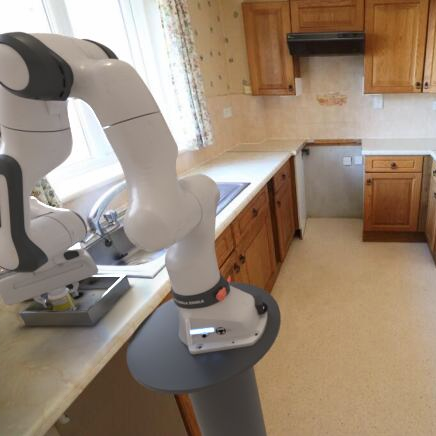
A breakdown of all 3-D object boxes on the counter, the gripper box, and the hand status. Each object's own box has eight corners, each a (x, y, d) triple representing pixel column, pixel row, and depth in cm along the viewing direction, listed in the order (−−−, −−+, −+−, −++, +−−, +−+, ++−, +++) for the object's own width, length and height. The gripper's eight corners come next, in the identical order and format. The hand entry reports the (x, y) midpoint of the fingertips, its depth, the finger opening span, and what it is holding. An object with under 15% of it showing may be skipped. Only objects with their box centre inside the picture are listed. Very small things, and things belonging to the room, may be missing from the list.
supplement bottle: (65, 305, 93) (54, 281, 89) (81, 305, 92) (70, 281, 89) (52, 316, 88) (39, 292, 85) (68, 316, 88) (56, 291, 84)
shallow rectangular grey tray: (130, 286, 100) (126, 274, 98) (93, 325, 84) (87, 312, 83) (72, 287, 100) (67, 275, 98) (25, 326, 85) (18, 312, 83)
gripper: (-15, 280, 74) (12, 325, 80) (89, 247, 87) (106, 289, 93) (-14, 269, 79) (12, 313, 85) (85, 239, 91) (101, 280, 97)
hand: (62, 300), depth 89 cm, fingers closed on supplement bottle, 5 cm apart
